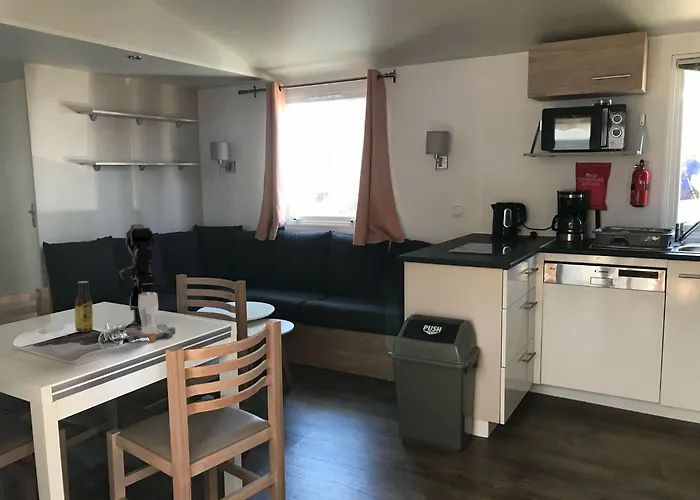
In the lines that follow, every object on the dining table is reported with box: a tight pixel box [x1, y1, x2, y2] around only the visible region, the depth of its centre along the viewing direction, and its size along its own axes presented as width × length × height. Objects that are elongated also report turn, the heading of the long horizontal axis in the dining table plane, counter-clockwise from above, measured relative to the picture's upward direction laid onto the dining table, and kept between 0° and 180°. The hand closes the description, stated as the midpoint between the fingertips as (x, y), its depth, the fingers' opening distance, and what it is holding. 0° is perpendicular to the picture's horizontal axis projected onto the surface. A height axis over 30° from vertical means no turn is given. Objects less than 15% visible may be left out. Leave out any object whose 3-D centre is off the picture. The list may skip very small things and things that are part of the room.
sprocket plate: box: [125, 324, 176, 343], centre depth 220 cm, size 20×20×2 cm
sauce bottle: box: [74, 280, 94, 333], centre depth 224 cm, size 6×6×20 cm
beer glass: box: [138, 291, 159, 335], centre depth 215 cm, size 7×7×15 cm
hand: (143, 298), depth 225 cm, fingers open, 9 cm apart
